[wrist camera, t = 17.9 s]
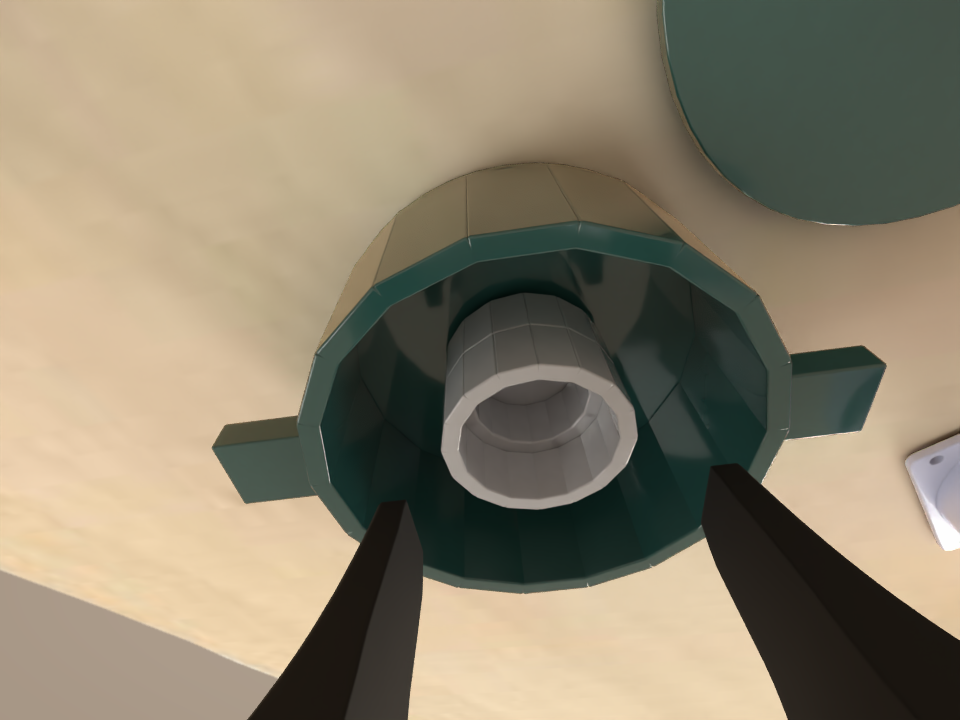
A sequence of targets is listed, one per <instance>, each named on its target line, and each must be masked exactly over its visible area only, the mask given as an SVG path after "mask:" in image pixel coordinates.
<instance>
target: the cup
mask: <svg viewBox="0 0 960 720" xmlns="http://www.w3.org/2000/svg"><path fill="white" fill-rule="evenodd" d="M637 437H638V432H637V424H636V416H635V409H634V407H633V405H632V403H631V400H630V398H629V396H628V394H627V391H626V389H625V387H624V385H623V382H622V380H621V378H620V376H619V373H618V371H617V369H616V367H615V365H614V363H613V360H612V358H611V356H610V353H609V351H608V349H607V347H606V344H605V342H604V340H603V338H602V335H601V333H600V331H599V330H598V329H597V327H596V326H595V325H594V323H593V322H592V321H591V319H590V318H589V317H588V315H587V314H586V313H585V312H583V310H582V309H580V308H578V307H576V306H574V305H572V304H570V303H569V302H567V301H565V300H563V299H561V298H559V297H556V296H553V295H543V294H533V293H519V294H515V295H511V296H507V297H503V298H499V299H495V300H491V301H490V302H488V303H486V304H485V305H483V306H482V307H481V308H479V309H478V310H476V311H475V312H474V313H472V314H471V315H469V316H468V317H466V318H465V319H464V320H463V321H462V322H461V324H460V326H459V327H458V329H457V330H456V332H455V334H454V335H453V337H452V338H451V340H450V342H449V343H448V347H447V355H446V365H445V379H444V398H443V416H442V435H441V453H442V455H443V458H444V460H445V462H446V464H447V467H448V469H449V471H450V474H451V476H452V477H453V478H454V479H455V480H456V481H457V482H458V483H459V484H461V485H462V486H463V487H464V488H465V489H467V490H468V491H469V492H470V493H471V494H472V495H474V496H476V497H477V498H480V499H483V500H486V501H488V502H491V503H494V504H497V505H499V506H502V507H506V508H519V509H535V510H539V509H546V508H551V507H556V506H561V505H566V504H571V503H573V502H577V501H579V500H581V499H583V498H585V497H587V496H589V495H591V494H592V493H594V492H596V491H598V490H600V489H602V488H603V487H605V486H606V485H607V484H608V483H609V482H610V481H611V480H612V479H613V478H614V477H615V476H616V475H617V474H618V473H619V472H620V471H621V470H623V469H624V468H625V467H626V464H627V463H628V461H629V459H630V456H631V454H632V451H633V449H634V446H635V444H636V441H637Z"/></svg>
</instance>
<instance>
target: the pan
mask: <svg viewBox="0 0 960 720" xmlns="http://www.w3.org/2000/svg"><path fill="white" fill-rule="evenodd" d="M519 293H533V294H543V295H553V296H556V297H559V298H561V299H563V300H565V301H567V302H569V303H570V304H572V305H574V306H576V307H578V308H580V309H582V310H583V312H585V313H586V314H587V315H588V317H589V318H590V319H591V321H592V322H593V323H594V325H595V326H596V327H597V329H598V330H599V331H600V333H601V335H602V338H603V340H604V342H605V344H606V347H607V349H608V351H609V353H610V356H611V358H612V360H613V363H614V365H615V367H616V369H617V371H618V373H619V376H620V378H621V380H622V382H623V385H624V387H625V389H626V391H627V394H628V396H629V398H630V400H631V403H632V405H633V407H634V409H635V416H636V424H637V432H638V437H637V441H636V444H635V446H634V449H633V451H632V454H631V456H630V459H629V461H628V463H627V464H626V467H625V468H624V469H623V470H621V471H620V472H619V473H618V474H617V475H616V476H615V477H614V478H613V479H612V480H611V481H610V482H609V483H608V484H607V485H606V486H605V487H603V488H602V489H600V490H598V491H596V492H594V493H592V494H591V495H589V496H587V497H585V498H583V499H581V500H579V501H577V502H573V503H571V504H566V505H561V506H556V507H551V508H546V509H539V510H535V509H519V508H506V507H502V506H499V505H497V504H494V503H491V502H488V501H486V500H483V499H480V498H477V497H476V496H474V495H472V494H471V493H470V492H469V491H468V490H467V489H465V488H464V487H463V486H462V485H461V484H459V483H458V482H457V481H456V480H455V479H454V478H453V477H452V476H451V474H450V471H449V469H448V467H447V464H446V462H445V460H444V458H443V455H442V453H441V435H442V416H443V398H444V379H445V365H446V355H447V347H448V343H449V342H450V340H451V338H452V337H453V335H454V334H455V332H456V330H457V329H458V327H459V326H460V324H461V322H462V321H463V320H464V319H465V318H466V317H468V316H469V315H471V314H472V313H474V312H475V311H476V310H478V309H479V308H481V307H482V306H483V305H485V304H486V303H488V302H490V301H491V300H495V299H499V298H503V297H507V296H511V295H515V294H519ZM886 367H887V366H886V363H885V362H883V361H882V360H881V359H880V358H879V357H877V356H876V355H875V354H874V353H872V352H871V351H870V350H869V349H867V348H866V347H865V346H862V345H859V346H851V347H843V348H835V349H827V350H819V351H811V352H803V353H795V354H789V353H788V351H787V349H786V347H785V345H784V343H783V341H782V339H781V337H780V335H779V333H778V331H777V329H776V327H775V325H774V323H773V321H772V319H771V317H770V315H769V313H768V311H767V309H766V308H765V306H764V304H763V302H762V300H761V298H760V296H759V295H758V294H757V293H756V291H755V290H754V289H752V288H751V287H750V286H749V285H748V284H747V283H746V282H745V281H744V280H743V279H742V278H740V277H739V276H738V275H737V274H736V273H735V272H734V271H733V270H732V269H731V268H730V267H728V266H727V265H726V264H725V263H724V262H723V261H722V260H721V259H720V258H719V257H718V256H716V255H715V254H714V253H713V252H712V251H711V250H710V249H709V248H708V247H707V246H706V245H704V244H703V243H702V242H701V241H700V240H699V239H698V238H697V237H696V236H695V235H694V234H692V233H691V232H690V231H689V230H688V229H687V228H686V227H685V226H684V225H683V224H682V223H680V222H679V221H678V220H677V219H676V218H674V217H673V216H672V215H670V214H669V213H668V212H666V211H665V210H663V209H662V208H661V207H659V206H658V205H656V204H655V203H654V202H652V201H651V200H650V199H649V198H647V197H646V196H645V195H643V194H642V193H641V192H639V191H637V190H636V189H634V188H633V187H631V186H630V185H629V184H627V183H626V182H624V181H621V180H620V179H617V178H612V177H609V176H606V175H603V174H601V173H598V172H595V171H592V170H589V169H584V168H579V167H574V166H569V165H564V164H550V163H523V164H510V165H502V166H498V167H493V168H488V169H484V170H479V171H475V172H473V173H470V174H467V175H464V176H462V177H459V178H456V179H453V180H451V181H448V182H446V183H444V184H443V185H441V186H439V187H437V188H435V189H433V190H431V191H429V192H427V193H426V194H424V195H422V196H421V197H420V198H418V199H417V200H415V201H414V202H413V203H411V204H410V205H408V206H407V207H406V208H404V209H403V210H401V211H399V212H398V214H396V215H395V216H394V218H393V219H392V220H391V221H390V222H389V223H388V224H387V225H386V226H385V227H384V228H383V229H382V230H381V231H380V233H379V234H378V235H377V237H376V238H375V239H374V240H373V242H372V243H371V244H370V246H369V247H368V248H367V250H366V252H365V253H364V254H363V256H362V257H361V258H360V259H359V260H358V262H357V263H356V264H355V266H354V268H353V270H352V272H351V274H350V276H349V278H348V281H347V283H346V285H345V287H344V290H343V292H342V294H341V296H340V298H339V301H338V303H337V305H336V307H335V310H334V312H333V314H332V316H331V318H330V321H329V323H328V325H327V327H326V330H325V332H324V334H323V336H322V338H321V341H320V343H319V345H318V347H317V350H316V352H315V354H314V357H313V361H312V365H311V369H310V372H309V376H308V380H307V384H306V387H305V391H304V395H303V398H302V402H301V406H300V410H299V413H298V416H291V417H283V418H275V419H267V420H259V421H251V422H243V423H235V424H227V425H225V426H224V427H223V429H222V431H221V432H220V434H219V436H218V438H217V439H216V441H215V443H214V444H213V446H212V450H213V451H214V453H215V455H216V456H217V458H218V460H219V461H220V463H221V465H222V466H223V468H224V470H225V471H226V473H227V475H228V476H229V478H230V479H231V481H232V483H233V484H234V486H235V488H236V489H237V491H238V493H239V494H240V496H241V498H242V499H243V501H244V503H246V504H249V503H257V502H266V501H274V500H283V499H292V498H300V497H309V496H317V495H318V497H319V498H320V499H321V501H322V502H323V503H324V505H325V506H326V507H327V509H328V510H329V511H330V513H331V514H332V515H333V517H334V518H335V519H336V521H337V522H338V523H339V525H340V526H341V527H342V529H343V530H344V531H345V532H346V533H347V534H348V535H349V536H350V537H352V538H353V539H355V540H356V541H358V542H359V543H361V541H362V539H363V537H364V535H365V533H366V531H367V529H368V527H369V525H370V523H371V520H372V518H373V516H374V514H375V512H376V509H377V507H378V505H379V504H380V503H381V502H388V501H397V500H407V504H408V507H409V510H410V513H411V516H412V519H413V522H414V525H415V528H416V531H417V534H418V537H419V540H420V543H421V546H422V549H423V577H426V578H429V579H432V580H435V581H438V582H442V583H445V584H448V585H451V586H454V587H457V588H458V587H459V588H466V589H476V590H486V591H497V592H507V593H517V594H522V593H524V594H529V593H538V592H548V591H558V590H567V589H577V588H587V587H588V586H589V587H591V586H595V585H598V584H601V583H604V582H607V581H611V580H614V579H617V578H620V577H624V576H627V575H630V574H633V573H636V572H640V571H643V570H646V569H649V568H652V566H653V567H654V566H656V565H658V564H660V563H662V562H663V561H665V560H667V559H669V558H670V557H672V556H674V555H676V554H677V553H679V552H681V551H683V550H685V549H686V548H688V547H690V546H692V545H693V544H695V543H697V542H699V541H700V540H702V539H704V538H706V536H705V533H704V531H703V528H702V525H701V518H702V512H703V506H704V501H705V495H706V489H707V483H708V477H709V472H710V466H714V465H723V464H732V463H738V464H739V465H741V466H742V467H743V468H744V469H745V470H746V471H747V472H748V473H749V474H750V475H751V476H753V477H754V478H755V479H756V480H757V481H758V482H759V483H760V484H761V485H762V483H763V481H764V479H765V477H766V475H767V473H768V471H769V469H770V467H771V465H772V463H773V461H774V459H775V457H776V455H777V453H778V451H779V449H780V447H781V445H782V444H783V442H784V441H786V440H795V439H803V438H812V437H820V436H829V435H838V434H846V433H855V432H860V431H861V430H862V428H863V425H864V423H865V420H866V418H867V415H868V413H869V410H870V408H871V405H872V402H873V400H874V397H875V395H876V392H877V390H878V387H879V385H880V382H881V379H882V377H883V374H884V372H885V369H886Z"/></svg>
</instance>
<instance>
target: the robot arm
mask: <svg viewBox="0 0 960 720" xmlns="http://www.w3.org/2000/svg"><path fill="white" fill-rule="evenodd" d="M905 466H906V469H907V471H908V473H909V476H910V478H911V481H912V483H913V486H914V488H915V491H916V493H917V496H918V498H919V500H920V503H921V505H922V508H923V510H924V513H925V515H926V518H927V520H928V522H929V525H930V527H931V530H932V532H933V535H934V537H935V540H936V542H937V544H938V545H939V546H940V547H941V548H942V549H943V550H947V551H949V550H954V549H957V548H960V433H959V434H957V435H955V436H952V437H950V438H948V439H945V440H943V441H941V442H938V443H936V444H934V445H931V446H929V447H927V448H924V449H922V450H920V451H917V452H915V453H913V454H911V455H910V456H909V457H908V458H907V459H906V461H905ZM701 525H702V528H703V531H704V533H705V536H706V539H707V542H708V545H709V548H710V550H711V553H712V556H713V558H714V561H715V564H716V566H717V568H718V570H719V572H720V575H721V577H722V579H723V581H724V583H725V585H726V587H727V589H728V591H729V593H730V595H731V597H732V599H733V601H734V603H735V605H736V607H737V609H738V611H739V613H740V615H741V617H742V619H743V621H744V623H745V625H746V627H747V629H748V631H749V633H750V635H751V637H752V639H753V641H754V643H755V645H756V647H757V649H758V651H759V653H760V655H761V657H762V659H763V661H764V663H765V665H766V668H767V670H768V672H769V674H770V676H771V679H772V681H773V683H774V685H775V688H776V690H777V693H778V695H779V698H780V700H781V703H782V706H783V708H784V711H785V713H786V716H787V718H788V720H960V640H958V639H957V638H955V637H953V636H952V635H950V634H949V633H947V632H946V631H944V630H943V629H942V628H940V627H939V626H937V625H936V624H934V623H933V622H931V621H930V620H928V619H927V618H925V617H924V616H922V615H921V614H920V613H918V612H917V611H915V610H914V609H912V608H911V607H910V606H908V605H907V604H905V603H904V602H903V601H901V600H900V599H898V598H897V597H896V596H894V595H893V594H892V593H890V592H889V591H888V590H886V589H885V588H884V587H882V586H881V585H880V584H878V583H877V582H876V581H874V580H873V579H872V578H870V577H869V576H868V575H867V574H865V573H864V572H863V571H861V570H860V569H859V568H858V567H856V566H855V565H854V564H853V563H851V562H850V561H849V560H847V559H846V558H845V557H844V556H843V555H841V554H840V553H839V552H838V551H836V550H835V549H834V548H833V547H832V546H830V545H829V544H828V543H827V542H826V541H824V540H823V539H822V538H821V537H820V536H819V535H817V534H816V533H815V532H814V531H813V530H812V529H810V528H809V527H808V526H807V525H806V524H805V523H803V522H802V521H801V520H800V519H799V518H798V517H797V516H795V515H794V514H793V513H792V512H791V511H790V510H789V509H788V508H786V507H785V506H784V505H783V504H782V503H781V502H780V501H779V500H778V499H776V498H775V497H774V496H773V495H772V494H771V493H770V492H769V491H768V490H767V489H766V488H764V487H763V486H762V485H761V484H760V483H759V482H758V481H757V480H756V479H755V478H754V477H753V476H751V475H750V474H749V473H748V472H747V471H746V470H745V469H744V468H743V467H742V466H741V465H739V464H738V463H732V464H723V465H714V466H710V472H709V477H708V483H707V489H706V495H705V501H704V506H703V512H702V518H701ZM422 590H423V549H422V546H421V543H420V540H419V537H418V534H417V531H416V528H415V525H414V522H413V519H412V516H411V513H410V510H409V507H408V504H407V500H397V501H388V502H381V503H380V504H379V505H378V507H377V509H376V512H375V514H374V516H373V518H372V520H371V523H370V525H369V527H368V529H367V531H366V533H365V535H364V537H363V539H362V541H361V543H360V545H359V547H358V549H357V551H356V553H355V555H354V557H353V559H352V561H351V563H350V565H349V566H348V568H347V570H346V572H345V574H344V576H343V577H342V579H341V581H340V583H339V585H338V587H337V588H336V590H335V592H334V594H333V595H332V597H331V599H330V600H329V602H328V604H327V605H326V607H325V609H324V610H323V612H322V614H321V615H320V617H319V619H318V620H317V622H316V624H315V625H314V627H313V629H312V630H311V632H310V633H309V635H308V636H307V638H306V639H305V641H304V642H303V644H302V645H301V647H300V648H299V650H298V651H297V653H296V654H295V656H294V657H293V659H292V660H291V662H290V663H289V664H288V666H287V667H286V669H285V670H284V672H283V673H282V674H281V676H280V677H279V679H278V680H277V681H276V683H275V684H274V685H273V687H272V688H271V689H270V691H269V692H268V694H267V695H266V696H265V697H264V699H263V700H262V702H261V703H260V704H259V705H258V707H257V708H256V709H255V711H254V712H253V713H252V715H251V716H250V717H249V718H248V719H247V720H408V709H409V698H410V689H411V681H412V673H413V666H414V658H415V650H416V642H417V634H418V626H419V618H420V610H421V602H422Z"/></svg>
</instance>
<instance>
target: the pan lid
mask: <svg viewBox="0 0 960 720" xmlns="http://www.w3.org/2000/svg"><path fill="white" fill-rule="evenodd" d="M657 21H658V29H659V38H660V46H661V54H662V60H663V64H664V68H665V72H666V76H667V80H668V84H669V88H670V92H671V95H672V97H673V100H674V102H675V105H676V107H677V110H678V112H679V114H680V117H681V119H682V122H683V124H684V126H685V128H686V130H687V131H688V133H689V135H690V136H691V138H692V140H693V141H694V143H695V145H696V146H697V148H698V150H699V151H700V153H701V154H702V155H703V156H704V157H705V159H706V160H707V161H708V162H709V163H710V164H711V166H712V167H713V168H714V169H715V170H716V172H717V173H718V174H719V175H720V176H722V177H723V178H724V179H725V180H726V181H728V182H729V183H730V184H731V185H732V186H734V187H735V188H736V189H737V190H738V191H740V192H741V193H743V194H744V195H746V196H748V197H749V198H751V199H753V200H755V201H756V202H758V203H760V204H762V205H763V206H765V207H767V208H769V209H770V210H773V211H776V212H779V213H781V214H784V215H787V216H789V217H792V218H795V219H799V220H804V221H809V222H814V223H819V224H824V225H843V226H861V225H873V224H886V223H891V222H896V221H901V220H907V219H912V218H917V217H921V216H924V215H927V214H931V213H934V212H937V211H940V210H944V209H947V208H950V207H953V206H956V205H958V204H960V0H657Z"/></svg>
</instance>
